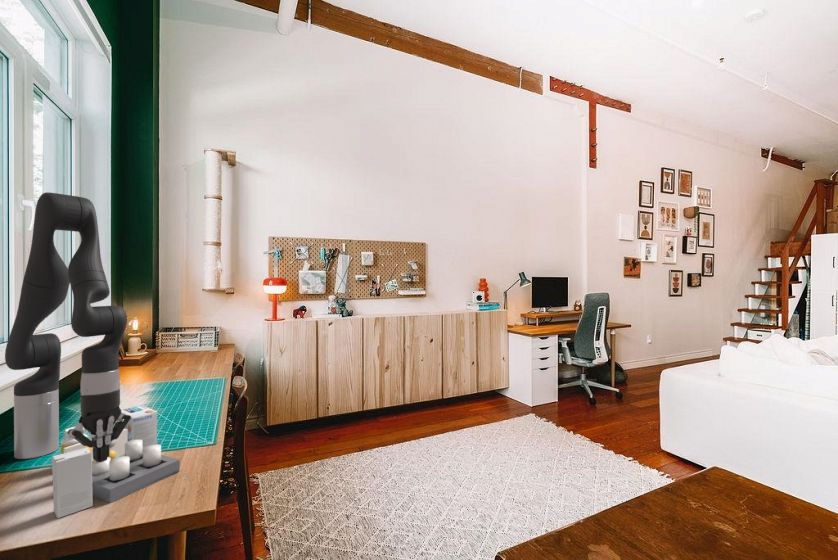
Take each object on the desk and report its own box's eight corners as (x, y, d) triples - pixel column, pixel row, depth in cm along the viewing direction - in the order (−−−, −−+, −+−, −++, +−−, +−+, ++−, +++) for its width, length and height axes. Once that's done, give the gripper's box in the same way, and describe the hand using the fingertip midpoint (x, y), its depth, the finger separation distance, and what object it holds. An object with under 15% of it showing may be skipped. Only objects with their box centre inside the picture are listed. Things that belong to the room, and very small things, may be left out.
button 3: (121, 459, 105) (121, 443, 105) (136, 453, 108) (136, 438, 108) (130, 461, 103) (130, 446, 103) (145, 455, 106) (145, 441, 106)
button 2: (105, 478, 95) (105, 461, 95) (123, 471, 98) (123, 455, 98) (115, 481, 93) (115, 464, 93) (133, 474, 97) (133, 458, 96)
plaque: (63, 480, 100) (63, 448, 100) (125, 457, 112) (125, 428, 112) (66, 481, 99) (66, 449, 99) (128, 458, 112) (128, 429, 112)
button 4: (139, 464, 101) (139, 449, 101) (154, 458, 105) (154, 443, 105) (149, 467, 100) (149, 452, 100) (164, 461, 103) (164, 446, 103)
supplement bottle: (72, 471, 104) (72, 433, 104) (55, 469, 106) (55, 431, 105) (93, 462, 110) (92, 425, 110) (76, 460, 111) (76, 424, 111)
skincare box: (88, 500, 91) (88, 445, 91) (93, 507, 88) (93, 451, 88) (51, 512, 87) (51, 455, 86) (55, 520, 84) (55, 461, 84)
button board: (70, 487, 97) (70, 474, 97) (140, 459, 111) (140, 448, 111) (110, 503, 90) (110, 489, 90) (179, 471, 105) (179, 459, 104)
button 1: (87, 478, 98) (87, 462, 98) (105, 471, 101) (105, 455, 101) (96, 481, 96) (96, 465, 96) (114, 474, 100) (114, 458, 100)
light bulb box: (116, 447, 119) (116, 410, 119) (142, 439, 125) (142, 404, 125) (131, 456, 113) (131, 417, 113) (158, 448, 119) (158, 411, 119)
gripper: (120, 381, 106) (121, 447, 106) (58, 394, 94) (59, 469, 94) (138, 384, 103) (139, 452, 103) (77, 398, 91) (77, 476, 91)
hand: (101, 460), depth 99 cm, fingers closed
